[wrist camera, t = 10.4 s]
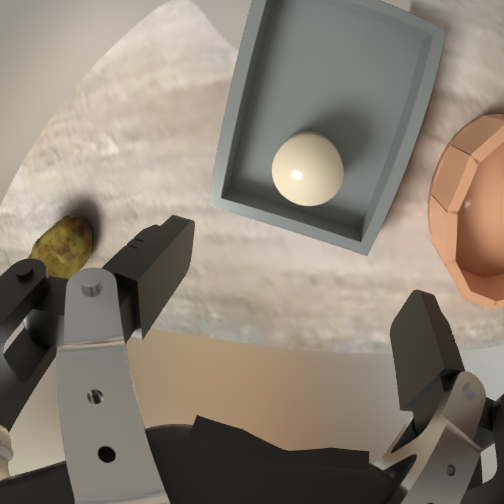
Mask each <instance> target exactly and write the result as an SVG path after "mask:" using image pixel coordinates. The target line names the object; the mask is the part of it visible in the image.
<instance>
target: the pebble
mask: <svg viewBox="0 0 504 504" xmlns="http://www.w3.org/2000/svg"><path fill="white" fill-rule="evenodd" d="M343 176H344V169H343V164H342V161H341V158H340V154H339V151H338V149H337V147H336V145H335V144H334V142H333V141H332V140H331V139H330V138H329V137H327V136H326V135H324V134H322V133H320V132H317V131H311V130H305V131H300V132H297V133H295V134H293V135H292V136H290V137H289V138H288V139H287V140H286V141H285V142H284V144H283V145H282V146H281V148H280V149H279V150H278V152H277V153H276V155H275V157H274V160H273V164H272V177H273V181H274V183H275V186H276V187H277V189H278V190H279V192H280V193H281V194H282V195H283V196H284V197H285V198H287V199H288V200H289V201H291V202H293V203H296V204H299V205H303V206H315V205H320V204H322V203H325V202H327V201H328V200H330V199H331V198H332V197H333V196H335V194H336V193H337V192H338V190H339V189H340V187H341V185H342V182H343Z"/></svg>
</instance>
